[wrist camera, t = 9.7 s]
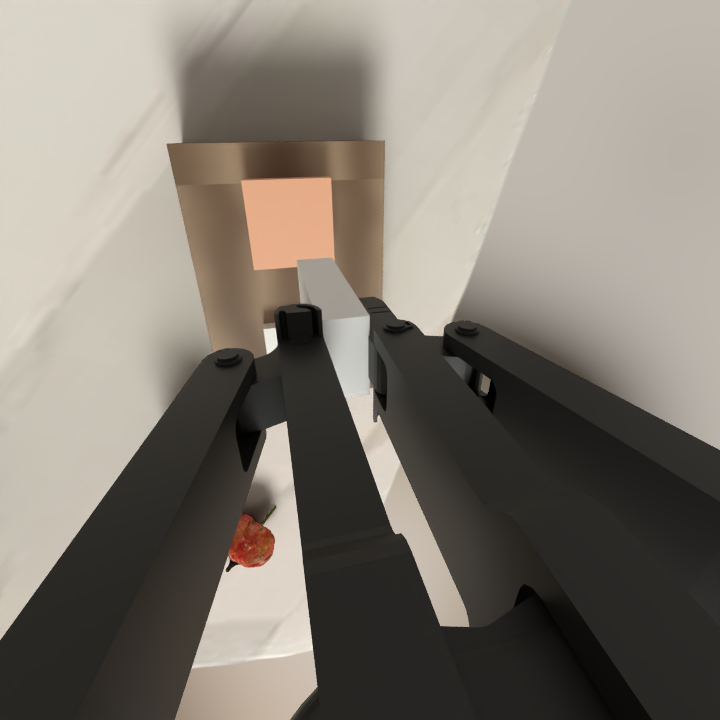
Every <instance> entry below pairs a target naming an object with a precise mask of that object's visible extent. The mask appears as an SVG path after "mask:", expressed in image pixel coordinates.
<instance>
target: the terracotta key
mask: <svg viewBox="0 0 720 720" xmlns="http://www.w3.org/2000/svg"><path fill="white" fill-rule="evenodd" d="M241 184H242V191H243V198H244V205H245V211H246V218H247V225H248V232H249V239H250V246H251V252H252V259H253V266H254V270H265V269H278V268H291V267H297V260H304V259H317V258H331V257H332V259H333V260H334V262H335V256H334V233H333V210H332V186H331V177H329V176H325V177H293V178H262V179H241Z"/></svg>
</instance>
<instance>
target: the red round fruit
mask: <svg viewBox="0 0 720 720" xmlns="http://www.w3.org/2000/svg"><path fill="white" fill-rule="evenodd" d="M275 509H276V506H275V507H274V508H273V509H272V510H271V511H270V513H268V514H267V515H266V517H265V519H264V520H263V521H262V522H261V523H259V522H258V523H259V524H258V523H256V522H257V521H256V520H254V519H253V518H252V517H251V516H249V515H247V514H246V513H243V512H242V513H241V517H240V520H239V523H238V526H237V529H236V532H235V535H234V538H233V541H232V544H231V547H230V550H229V554H228V556H229V558H230V563H229V566H228V567H227V568H226V572H229V571H230V569H231V568H232V567H234V566H235V565H238V564H239V565H243V566H244V567H248V568H250V567H259V566H262V565H264V564H265V563H266V562H267V561H268V560H269V559H270V558H271V556H272V554H273V550H274V544H275V538H274V536H273V534H272V533H271V531H270V530H269V529H267V528H266V527H264V526H263V525H264V523H265V521H266V520H267V519H268V517H269V516H270V515H271V514H272V512H273V511H274V510H275Z"/></svg>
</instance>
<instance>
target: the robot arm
mask: <svg viewBox="0 0 720 720" xmlns="http://www.w3.org/2000/svg"><path fill="white" fill-rule="evenodd" d="M297 270H298V281H299V292H300V303H301V304H292V305H286V306H279V308H278V309H277V310H276V311H275V312H274V320H275V328H276V335H277V343H278V344H277V347H276V348H275V349H274V350H273V351H272V352H270V353H268V354H267V355H264V356H261V357H258V358H255V359H254V355H253V354H252V352H251V351H249V350H246V349H241V348H225V349H223V350H222V349H221V350H217V351H216V352H214V353H212V354H210V355H208V356H207V357H206V358H205V359H203V361H202V362H201V363H200V365H199V366H198V368H197V369H196V370H195V372H194V373H193V374H192V376H191V377H190V379H189V380H188V381H187V383H186V384H185V386H184V387H183V388H182V390H181V391H180V392H179V394H178V395H177V397H176V398H175V399H174V401H173V402H172V404H171V405H170V406H169V408H168V409H167V410H166V412H165V413H164V415H163V416H162V417H161V419H160V420H159V422H158V423H157V424H156V426H155V427H154V428H153V430H152V431H151V433H150V434H149V435H148V437H147V438H146V440H145V441H144V442H143V444H142V445H141V446H140V448H139V449H138V451H137V452H136V453H135V455H134V456H133V458H132V459H131V460H130V462H129V463H128V464H127V466H126V467H125V469H124V470H123V471H122V473H121V474H120V475H119V477H118V478H117V480H116V481H115V482H114V484H113V485H112V487H111V488H110V489H109V491H108V492H107V493H106V495H105V496H104V498H103V499H102V500H101V502H100V503H99V505H98V506H97V507H96V509H95V510H94V511H93V513H92V514H91V516H90V517H89V518H88V520H87V521H86V523H85V524H84V525H83V527H82V528H81V529H80V531H79V532H78V534H77V535H76V536H75V538H74V539H73V541H72V542H71V543H70V545H69V546H68V547H67V549H66V550H65V552H64V553H63V554H62V556H61V557H60V558H59V560H58V561H57V563H56V564H55V565H54V567H53V568H52V570H51V571H50V572H49V574H48V575H47V576H46V578H45V579H44V581H43V582H42V583H41V585H40V586H39V588H38V589H37V590H36V592H35V593H34V594H33V596H32V597H31V599H30V600H29V601H28V603H27V604H26V606H25V607H24V608H23V610H22V611H21V612H20V614H19V615H18V617H17V618H16V619H15V621H14V622H13V624H12V625H11V626H10V628H9V629H8V630H7V632H6V633H5V635H4V636H3V637H2V639H1V640H0V720H175V717H176V714H177V711H178V708H179V704H180V701H181V698H182V695H183V692H184V689H185V686H186V683H187V680H188V677H189V674H190V671H191V668H192V665H193V661H194V658H195V655H196V652H197V649H198V646H199V643H200V640H201V637H202V634H203V631H204V628H205V624H206V621H207V618H208V615H209V612H210V609H211V606H212V603H213V600H214V597H215V594H216V591H217V587H218V584H219V581H220V578H221V575H222V572H223V569H224V566H225V563H226V560H227V557H228V554H229V550H230V547H231V544H232V541H233V538H234V535H235V532H236V529H237V526H238V523H239V520H240V517H241V513H242V510H243V507H244V504H245V501H246V498H247V495H248V492H249V489H250V486H251V483H252V480H253V476H254V473H255V470H256V467H257V464H258V461H259V458H260V455H261V452H262V449H263V446H264V443H265V440H266V428H269V427H272V426H274V425H277V424H280V423H282V422H285V421H287V428H288V436H289V444H290V453H291V461H292V470H293V478H294V487H295V495H296V504H297V512H298V520H299V529H300V537H301V546H302V557H303V566H304V575H305V583H306V592H307V600H308V609H309V617H310V626H311V634H312V643H313V651H314V659H315V668H316V677H317V685H318V687H317V688H316V689H315V690H314V692H313V693H312V694H311V695H310V696H309V697H308V698H307V699H306V700H305V701H304V702H303V703H302V704H301V706H300V707H299V709H298V710H297V711H296V713H295V714H294V715H293V717H292V718H291V720H720V450H718V449H717V448H715V447H713V446H711V445H709V444H707V443H705V442H703V441H701V440H699V439H698V438H696V437H694V436H692V435H690V434H688V433H686V432H684V431H682V430H681V429H679V428H677V427H675V426H673V425H671V424H669V423H667V422H665V421H663V420H662V419H659V418H658V417H656V416H654V415H652V414H650V413H648V412H646V411H644V410H643V409H641V408H639V407H637V406H635V405H633V404H631V403H629V402H627V401H625V400H624V399H622V398H620V397H618V396H616V395H614V394H612V393H610V392H608V391H606V390H605V389H603V388H601V387H599V386H597V385H595V384H593V383H591V382H589V381H588V380H586V379H584V378H581V377H580V376H578V375H576V374H574V373H572V372H570V371H569V370H567V369H565V368H563V367H561V366H559V365H557V364H555V363H553V362H551V361H549V360H548V359H546V358H544V357H542V356H540V355H538V354H536V353H534V352H532V351H530V350H529V349H527V348H525V347H523V346H521V345H519V344H517V343H515V342H513V341H511V340H510V339H508V338H506V337H504V336H502V335H500V334H498V333H496V332H494V331H492V330H491V329H489V328H487V327H485V326H483V325H480V324H478V323H473V322H471V321H458V322H452V323H450V324H447V325H446V326H445V327H444V334H443V336H425V335H424V334H423V333H422V332H421V331H420V329H419V328H418V327H417V326H416V325H415V324H413V323H412V322H409V321H406V320H399V319H397V318H396V317H395V315H394V314H393V313H392V312H391V310H390V309H389V308H388V307H387V305H386V304H385V303H384V301H382V300H380V299H378V298H376V297H363V298H358V297H357V295H356V294H355V292H354V291H353V289H352V288H351V286H350V285H349V283H348V282H347V280H346V279H345V277H344V276H343V274H342V273H341V271H340V269H339V268H338V266H337V265H336V263H335V262H334V260H333V259H332V257H331V258H317V259H304V260H297ZM483 374H484V375H485V376H487V377H488V378H489V379H491V382H490V387H489V392H488V394H486V393H484V392H483V391H481V383H482V378H483ZM370 381H371V383H372V385H373V420H374V422H377V417H378V415H380V417H381V420H382V422H383V424H384V426H385V429H386V431H387V433H388V435H389V438H390V440H391V442H392V444H393V446H394V449H395V451H396V453H397V455H398V458H399V460H400V462H401V464H402V467H403V469H404V471H405V473H406V475H407V477H408V480H409V482H410V484H411V487H412V489H413V491H414V493H415V496H416V498H417V500H418V502H419V504H420V507H421V509H422V511H423V513H424V515H425V518H426V520H427V522H428V525H429V527H430V529H431V531H432V533H433V535H434V538H435V540H436V542H437V545H438V547H439V549H440V551H441V553H442V556H443V558H444V560H445V562H446V565H447V567H448V569H449V571H450V574H451V576H452V578H453V580H454V583H455V585H456V587H457V589H458V591H459V594H460V595H461V598H462V600H463V603H464V605H465V608H466V611H467V615H468V620H469V626H470V627H447V626H440V624H439V622H438V619H437V617H436V614H435V611H434V609H433V606H432V604H431V601H430V598H429V596H428V593H427V590H426V588H425V585H424V583H423V580H422V577H421V575H420V572H419V570H418V567H417V564H416V562H415V559H414V557H413V554H412V551H411V549H410V547H409V545H408V543H407V540H406V539H405V537H404V536H403V535H402V534H401V533H400V534H395V533H394V532H393V530H392V527H391V525H390V523H389V520H388V517H387V514H386V511H385V508H384V505H383V503H382V500H381V497H380V494H379V491H378V489H377V486H376V483H375V480H374V477H373V475H372V472H371V469H370V466H369V463H368V460H367V458H366V455H365V452H364V449H363V446H362V444H361V441H360V438H359V435H358V432H357V430H356V427H355V424H354V421H353V418H352V416H351V413H350V410H349V407H348V404H347V401H346V399H345V398H348V397H355V396H362V395H369V394H370Z"/></svg>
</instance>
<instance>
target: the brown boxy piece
mask: <svg viewBox="0 0 720 720" xmlns="http://www.w3.org/2000/svg"><path fill="white" fill-rule="evenodd" d="M167 148H168V152H169V157H170V161H171V166H172V170H173V175H174V179H175V184H176V188H177V193H178V197H179V202H180V206H181V211H182V215H183V220H184V224H185V229H186V233H187V238H188V242H189V247H190V251H191V256H192V260H193V265H194V269H195V274H196V278H197V283H198V287H199V292H200V296H201V301H202V305H203V310H204V314H205V319H206V323H207V328H208V332H209V337H210V341H211V346H212V350H213V353H214V352H216V351H217V350H221V349H222V350H223V349H225V348H241V349H246V350H249V351H251V352H252V354H253V355H254V359H255V358H258V357H261V356H264V355H267V351H266V344H265V337H264V330H263V324H266V323H275V320H274V312H275V311H276V310H277V309H278V308H279V306H286V305H292V304H301V303H300V292H299V281H298V270H297V267H291V268H278V269H265V270H254V266H253V259H252V252H251V246H250V239H249V232H248V225H247V218H246V211H245V205H244V198H243V191H242V184H241V179H262V178H293V177H325V176H329V177H331V186H332V210H333V233H334V256H335V263H336V265H337V266H338V268H339V269H340V271H341V273H342V274H343V276H344V277H345V279H346V280H347V282H348V283H349V285H350V286H351V288H352V289H353V291H354V292H355V294H356V295H357V297H358V298H363V297H376V298H378V299H380V300H382V275H383V218H384V162H385V141H298V142H225V143H174V144H167ZM370 388H373V385H372V383H371V381H370Z"/></svg>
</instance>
